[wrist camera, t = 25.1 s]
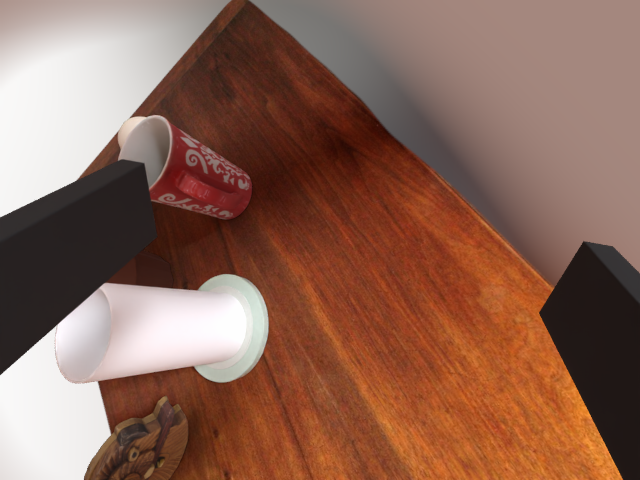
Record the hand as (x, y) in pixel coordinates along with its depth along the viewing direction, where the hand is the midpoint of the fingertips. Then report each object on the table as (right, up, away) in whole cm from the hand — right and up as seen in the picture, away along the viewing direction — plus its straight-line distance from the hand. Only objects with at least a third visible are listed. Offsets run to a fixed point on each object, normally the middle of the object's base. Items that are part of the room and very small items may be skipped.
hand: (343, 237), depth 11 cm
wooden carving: (-19, -27, +33) cm, 46 cm away
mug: (-12, +5, +36) cm, 38 cm away
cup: (-13, -11, +32) cm, 36 cm away
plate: (-13, -11, +33) cm, 37 cm away
